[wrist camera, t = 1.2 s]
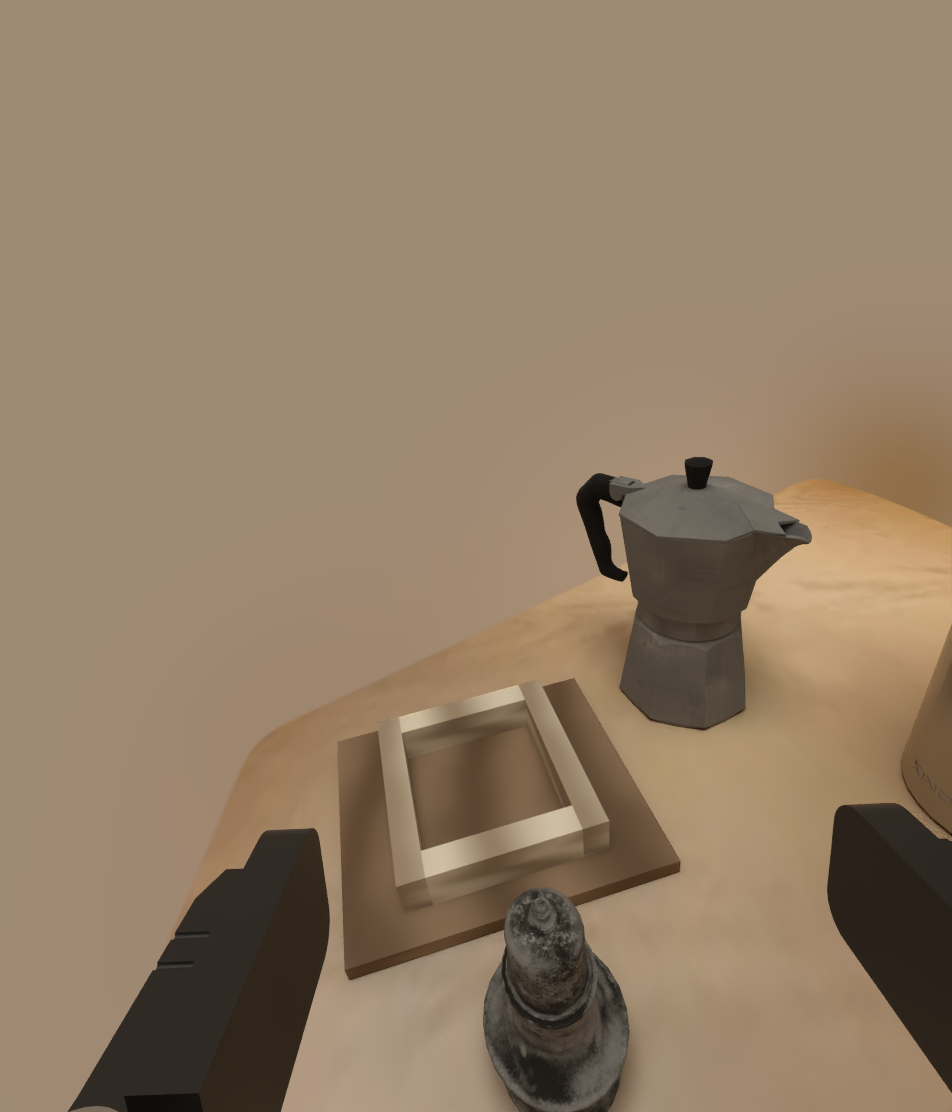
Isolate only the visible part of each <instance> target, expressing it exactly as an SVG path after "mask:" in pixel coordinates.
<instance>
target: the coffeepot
mask: <svg viewBox="0 0 952 1112" xmlns="http://www.w3.org/2000/svg"><path fill="white" fill-rule="evenodd" d="M712 464H713V460H711V459H708V458H705V457H693V458H689V459H686V460H685V469H686V476H683V475H671V476H667V477H664V478H661V479H658V480H655V481H652V482H649V483H645V484H643V483H642V482H641V481H640V480H636V479H632V478H627V477H622V476H620V477H619V478H617V477H612V476H609V475H605V474H601V473H598V474H595V475H593V476H592V477H591V478H590V479H589V480H588V481H587V482H586V483H585V484H584V485H583V486H582V487H581V488H580V489H579V491H578V493H577V496H576V501H577V506H578V509H579V512H580V514H581V517H582V520H583V523H584V526H585V528H586V532H587V535H588V538H589V541H590V544H591V547H592V550H593V553H594V556H595V559H596V561H597V564H598V567H599V570H600V572H601V574H602V575H604V576H606V577H609V578H611V579H614V580H617V581H621V582H622V581H624V580H625V578H626V577H627V575H628V573H627V572H626V571H623V570H621V569H619V568H617V567H616V566H615V565H614V564H613V562H612V559H611V544H610V540H609V538H608V536H607V534H606V532H605V527H604V520H603V515H602V510H601V507H600V504H599V500H600V499H602V500H605V501H607V502H610V503H612V504H614V505H616V506H619V507H621V509H620V512H619V516H620V519H621V526H622V532H623V538H624V544H625V550H626V556H627V562H628V569H629V575H630V581H631V587H632V593H633V596H634V597H635V598H636V599H637V600H638V606H637V609H636V614H635V619H634V623H633V628H632V632H631V637H630V642H629V646H628V651H627V656H626V660H625V665H624V669H623V674H622V678H621V683H620V688H621V690H622V691H623V692H624V693H625V694H626V696H627V697H628V698H629V699H630V701H631V702H632V703H633V704H634V706H636V707H637V708H638V709H639V710H640V711H642V712H643V713H644V714H646V715H647V716H648V717H649V718H651V719H654V720H657V721H659V722H662V723H666V724H669V725H673V726H678V727H686V728H707V727H710V726H714V725H716V724H719V723H722V722H725V721H726V720H728V719H729V718H731V717H732V716H734V715H735V714H736V713H737V712H739V711H741V710H743V709H745V669H744V656H743V643H742V629H741V611H743V610H745V609H746V608H747V605H748V603H749V600H750V597H751V594H752V591H753V588H754V585H755V583H756V580H757V579H758V578H759V577H760V576H762V575H763V574H764V573H765V572H766V571H767V570H768V569H769V568H770V567H771V566H772V565H773V564H774V563H775V562H776V561H777V560H779V559H780V558H781V557H782V556H783V555H785V554H786V553H787V552H789V551H790V550H792V549H793V548H794V547H796V546H798V545H802V544H809V543H810V542H811V539H812V536H811V532H810V530H809V528H808V526H806V525H804V524H801V523H799V520H798V519H796V518H793V517H791V516H789V515H787V514H785V513H783V512H780V511H778V510H776V509H774V500H773V495H772V494H769V493H767V492H764V491H762V490H760V489H757V488H755V487H752V486H750V485H747V484H745V483H742V482H740V481H737V480H735V479H733V478H730V477H714V476H709V475H710V471H711V468H712Z"/></svg>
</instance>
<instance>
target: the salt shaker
mask: <svg viewBox="0 0 952 1112" xmlns="http://www.w3.org/2000/svg"><path fill="white" fill-rule="evenodd" d="M504 937H505V942H506V947H505V951H504V954H503V958H502V962H501V963H500V965H499V966H498V968H497V970H496V972H495V973H494V975H493V977H492V979H491V980H490V984H489V987H488V990H487V994H486V997H485V1001H484V1015H483V1026H484V1033H485V1040H486V1046H487V1049H488V1052H489V1054H490V1057H491V1059H492V1062H493V1064H494V1067H495V1069H496V1071H497V1072H498V1074H499V1075H500V1077H501V1078H502V1080H503V1081H504V1083H505V1085H506V1088H507V1090H508V1093H509V1095H510V1097H511V1099H512V1100H513V1102H514V1103H515V1105H516V1106H517V1108H518V1109H519V1111H520V1112H607V1111H608V1109H609V1108H610V1106H611V1105H612V1103H613V1100H614V1098H615V1095H616V1092H617V1089H618V1087H619V1080H620V1072H621V1069H622V1067H623V1064H624V1061H625V1059H626V1056H627V1048H628V1038H629V1025H628V1016H627V1008H626V1005H625V1002H624V999H623V996H622V993H621V990H620V987H619V985H618V983H617V982H616V980H615V979H614V977H613V975H612V974H611V972H610V970H609V969H608V967H607V966H606V965H605V964H604V963H603V962H602V961H601V960H600V959H599V958H598V957H597V956H596V955H595V954H594V953H593V952H592V950H591V948H590V947H589V945H588V943H587V942H586V940H585V935H584V926H583V923H582V920H581V916H580V914H579V912H578V911H577V909H576V907H575V906H574V904H573V903H572V902H571V901H570V900H569V899H568V898H567V897H566V896H565V895H564V894H562V893H561V892H559V891H557V890H555V889H551V888H548V887H536V888H532V889H528V890H526V891H525V892H523V893H521V894H520V895H519V896H518V897H517V898H516V899H515V900H514V901H513V902H512V904H511V906H510V908H509V909H508V913H507V916H506V920H505V927H504Z"/></svg>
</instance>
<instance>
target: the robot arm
mask: <svg viewBox="0 0 952 1112" xmlns="http://www.w3.org/2000/svg"><path fill="white" fill-rule="evenodd" d="M901 763H902V774H903V776H904V779H905V781H906V784H907V787H908V788H909V790H910V791H911V793H912V794H913V796H914V797H915V799H916V801H917V802H918V803H919V804H920V805H921V806H922V807H923V808H924V810H925V811H926V812H927V813H928V814H929V815H930V816H931V817H932V818H933V819H934V820H936V821H937V822H938V823H939V824H940V825H942V826H943V827H944V828H945V829H947V830H948V831H949V832H950V833H952V625H951V628H950V630H949V633H948V636H947V638H946V641H945V644H944V646H943V649H942V652H941V654H940V657H939V660H938V662H937V665H936V668H935V670H934V673H933V676H932V679H931V681H930V684H929V687H928V689H927V692H926V695H925V697H924V700H923V703H922V705H921V708H920V710H919V713H918V715H917V718H916V721H915V723H914V726H913V729H912V732H911V734H910V737H909V740H908V742H907V745H906V748H905V751H904V754H903V757H902V761H901ZM827 893H828V901H829V906H830V910H831V913H832V916H833V919H834V921H835V924H836V926H837V928H838V930H839V932H840V934H841V936H842V937H843V939H844V940H845V942H846V943H847V944H848V946H849V947H850V949H851V950H852V952H853V953H854V954H855V956H856V957H857V959H858V960H859V962H860V963H861V964H862V966H863V967H864V969H865V970H866V971H867V973H868V974H869V976H870V977H871V979H872V980H873V981H874V983H875V984H876V986H877V987H878V989H879V990H880V991H881V993H882V994H883V996H884V997H885V999H886V1000H887V1001H888V1003H889V1004H890V1006H891V1007H892V1008H893V1010H894V1011H895V1013H896V1014H897V1016H898V1017H899V1018H900V1020H901V1021H902V1023H903V1024H904V1026H905V1027H906V1028H907V1030H908V1031H909V1033H910V1034H911V1036H912V1037H913V1038H914V1040H915V1041H916V1043H917V1044H918V1045H919V1047H920V1048H921V1050H922V1051H923V1053H924V1054H925V1055H926V1057H927V1058H928V1060H929V1061H930V1063H931V1064H932V1065H933V1067H934V1068H935V1070H936V1071H937V1073H938V1074H939V1075H940V1077H941V1078H942V1080H943V1081H944V1082H945V1084H946V1085H947V1087H948V1088H949V1090H950V1091H951V1092H952V842H951V841H949V840H948V839H938V838H937V837H936V836H935V835H934V834H933V833H932V832H931V831H930V830H929V829H927V828H926V827H925V826H924V825H923V824H922V823H921V822H920V821H919V820H918V819H916V818H915V817H914V816H913V815H912V814H911V813H910V812H909V811H908V810H906V809H905V808H904V807H902V806H901V805H899V804H896V803H878V804H857V805H843V806H840V807H839V808H838V809H837V811H836V813H835V818H834V826H833V836H832V846H831V856H830V866H829V876H828V886H827ZM329 925H330V914H329V904H328V897H327V890H326V883H325V876H324V869H323V862H322V855H321V848H320V841H319V836H318V833H317V831H316V830H315V829H314V828H310V829H288V830H268V831H265V832H264V833H263V834H262V835H261V837H260V838H259V840H258V842H257V844H256V846H255V848H254V850H253V851H252V853H251V855H250V857H249V859H248V861H247V863H246V865H245V867H244V869H226V870H225V871H224V872H223V873H222V874H221V875H220V876H219V877H218V878H217V879H216V880H214V881H213V882H212V883H211V884H210V885H209V886H208V887H207V888H206V889H205V890H204V891H203V892H202V893H201V894H200V895H199V896H198V897H197V898H196V899H195V900H194V902H193V904H192V905H191V907H190V909H189V910H188V912H187V914H186V915H185V917H184V919H183V920H182V922H181V924H180V925H179V927H178V929H177V930H176V932H175V938H174V940H171V941H170V942H169V944H168V946H167V947H166V949H165V951H164V952H163V954H162V956H161V957H160V959H159V961H158V962H157V963H158V964H157V969H156V970H153V971H152V973H151V974H150V976H149V978H148V979H147V981H146V983H145V984H144V986H143V988H142V990H141V991H140V993H139V994H138V996H137V998H136V999H135V1001H134V1003H133V1004H132V1006H131V1008H130V1010H129V1011H128V1013H127V1015H126V1016H125V1018H124V1020H123V1021H122V1023H121V1025H120V1026H119V1028H118V1030H117V1031H116V1033H115V1035H114V1037H113V1038H112V1040H111V1041H110V1043H109V1045H108V1047H107V1048H106V1050H105V1052H104V1053H103V1055H102V1057H101V1058H100V1060H99V1062H98V1064H97V1065H96V1067H95V1068H94V1070H93V1072H92V1074H91V1075H90V1077H89V1078H88V1080H87V1082H86V1084H85V1085H84V1087H83V1089H82V1090H81V1092H80V1094H79V1095H78V1097H77V1098H76V1100H75V1102H74V1103H73V1104H72V1106H71V1108H70V1109H69V1111H68V1112H281V1109H282V1105H283V1102H284V1098H285V1095H286V1091H287V1088H288V1084H289V1081H290V1077H291V1074H292V1071H293V1067H294V1064H295V1060H296V1057H297V1053H298V1050H299V1046H300V1043H301V1039H302V1036H303V1032H304V1029H305V1025H306V1022H307V1018H308V1015H309V1011H310V1008H311V1005H312V1001H313V998H314V994H315V991H316V987H317V984H318V980H319V977H320V973H321V970H322V966H323V963H324V959H325V955H326V951H327V945H328V938H329Z"/></svg>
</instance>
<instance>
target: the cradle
mask: <svg viewBox="0 0 952 1112" xmlns="http://www.w3.org/2000/svg"><path fill="white" fill-rule="evenodd" d="M377 726H378V731H376V732H372V733H369V734H365V735H361V736H357V737H354V738H350V739H346V740H342V741H339V742H338V772H339V804H340V835H341V867H342V899H343V931H344V963H345V972H346V974H347V976H348V978H349V980H351V979H354V978H357V977H360V976H363V975H366V974H369V973H372V972H375V971H379V970H382V969H385V968H388V967H391V966H394V965H397V964H400V963H403V962H406V961H409V960H412V959H415V958H418V957H421V956H424V955H427V954H430V953H433V952H436V951H439V950H442V949H445V948H449V947H452V946H455V945H458V944H461V943H464V942H467V941H470V940H473V939H476V938H479V937H482V936H485V935H488V934H491V933H494V932H497V931H500V930H503V929H504V927H505V920H506V916H507V913H508V909H509V908H510V906H511V904H512V902H513V901H514V900H515V899H516V898H517V897H518V896H519V895H520V894H521V893H523V892H525V891H526V890H528V889H532V888H536V887H548V888H551V889H555V890H557V891H559V892H561V893H562V894H564V895H565V896H566V897H567V898H568V899H569V900H570V901H571V902H572V903H573V904H574V906H576V905H579V904H582V903H585V902H588V901H592V900H595V899H598V898H601V897H604V896H607V895H610V894H613V893H616V892H619V891H622V890H625V889H628V888H631V887H634V886H637V885H640V884H643V883H646V882H649V881H652V880H655V879H658V878H662V877H665V876H668V875H671V874H674V873H677V872H679V870H680V859H679V858H678V856H677V854H676V853H675V851H674V849H673V847H672V846H671V844H670V842H669V841H668V839H667V837H666V835H665V834H664V832H663V830H662V829H661V827H660V825H659V823H658V822H657V820H656V818H655V817H654V815H653V813H652V811H651V810H650V808H649V806H648V804H647V803H646V801H645V799H644V798H643V796H642V794H641V792H640V791H639V789H638V787H637V786H636V784H635V782H634V780H633V779H632V777H631V775H630V774H629V772H628V770H627V768H626V767H625V765H624V763H623V762H622V760H621V758H620V756H619V755H618V753H617V751H616V749H615V748H614V746H613V744H612V743H611V741H610V739H609V737H608V736H607V734H606V732H605V731H604V729H603V727H602V725H601V724H600V722H599V720H598V719H597V717H596V715H595V713H594V712H593V710H592V708H591V707H590V705H589V703H588V701H587V700H586V698H585V696H584V694H583V693H582V691H581V689H580V688H579V686H578V684H577V682H576V681H575V679H574V678H573V679H569V680H566V681H562V682H558V683H554V684H551V685H547V686H543V687H542V685H541V683H540V681H539V680H535V681H531V682H528V683H524V684H520V685H516V686H513V687H509V688H505V689H501V690H498V691H494V692H490V693H486V694H483V695H479V696H475V697H471V698H468V699H464V700H460V701H456V702H453V703H449V704H445V705H441V706H438V707H434V708H430V709H426V710H423V711H419V712H415V713H411V714H408V715H404V716H400V717H396V718H393V719H389V720H385V721H382V722H378V723H377Z"/></svg>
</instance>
